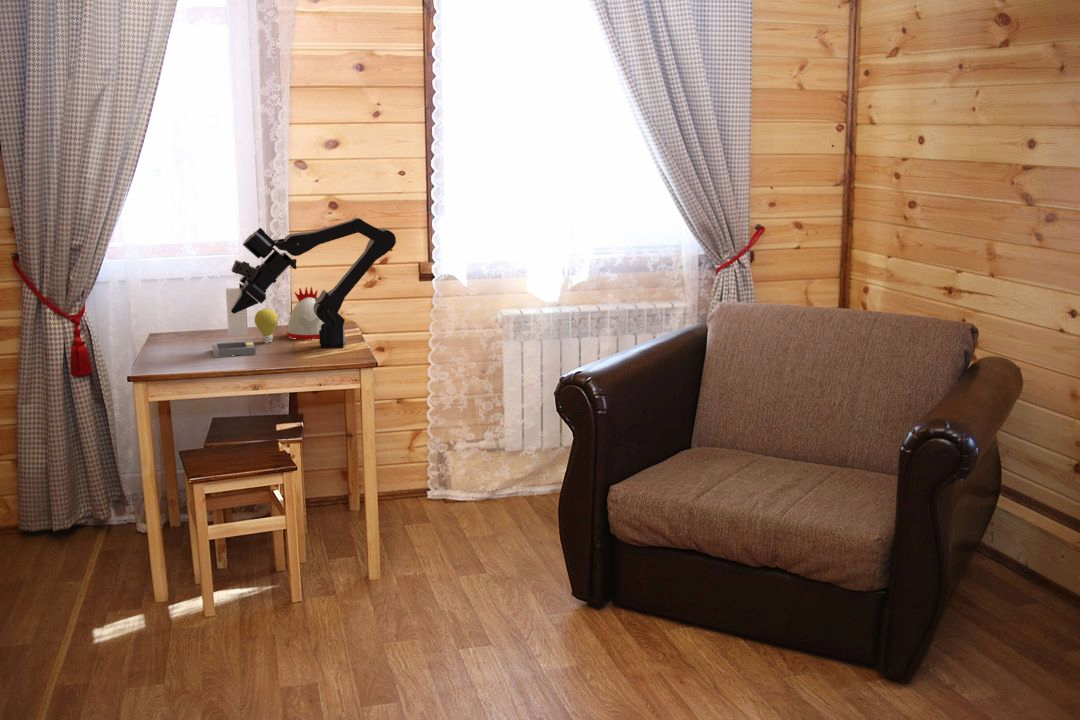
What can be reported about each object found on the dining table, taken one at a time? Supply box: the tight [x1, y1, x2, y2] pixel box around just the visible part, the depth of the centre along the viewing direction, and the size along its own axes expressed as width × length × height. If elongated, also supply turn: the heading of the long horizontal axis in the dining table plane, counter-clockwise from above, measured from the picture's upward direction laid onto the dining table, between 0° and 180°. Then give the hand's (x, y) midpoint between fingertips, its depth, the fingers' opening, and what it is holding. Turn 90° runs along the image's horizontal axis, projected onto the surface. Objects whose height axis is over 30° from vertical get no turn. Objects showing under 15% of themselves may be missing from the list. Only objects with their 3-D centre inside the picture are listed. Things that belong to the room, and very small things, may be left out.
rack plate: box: [211, 340, 256, 358], centre depth 297 cm, size 11×10×2 cm
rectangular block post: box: [225, 287, 249, 337], centre depth 295 cm, size 5×5×12 cm
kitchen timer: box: [286, 286, 324, 341], centre depth 320 cm, size 14×14×15 cm
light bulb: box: [254, 308, 279, 343], centre depth 310 cm, size 7×7×10 cm
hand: (231, 311), depth 295 cm, fingers closed on rectangular block post, 5 cm apart
